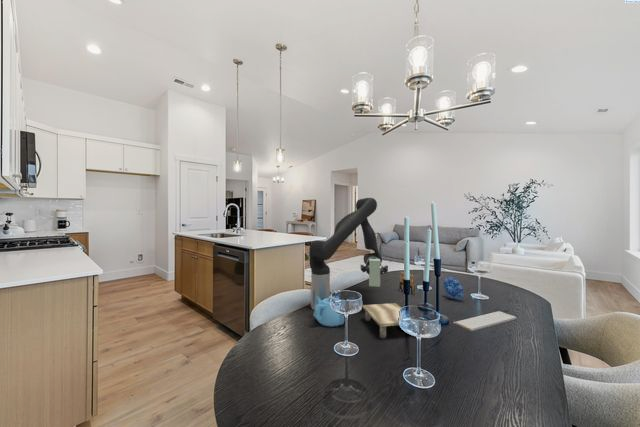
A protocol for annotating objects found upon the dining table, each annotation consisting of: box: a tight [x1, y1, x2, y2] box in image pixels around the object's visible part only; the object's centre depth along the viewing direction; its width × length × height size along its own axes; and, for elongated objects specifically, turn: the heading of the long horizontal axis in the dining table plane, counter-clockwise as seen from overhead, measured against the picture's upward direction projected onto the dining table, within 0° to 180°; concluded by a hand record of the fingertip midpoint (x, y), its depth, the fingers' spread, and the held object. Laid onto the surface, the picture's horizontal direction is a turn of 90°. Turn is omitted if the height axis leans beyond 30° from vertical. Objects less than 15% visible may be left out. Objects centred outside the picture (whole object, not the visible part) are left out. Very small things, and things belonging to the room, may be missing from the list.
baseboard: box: [453, 309, 517, 332], centre depth 120 cm, size 30×3×10 cm
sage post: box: [368, 259, 381, 288], centre depth 128 cm, size 5×5×12 cm
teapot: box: [312, 295, 345, 328], centre depth 118 cm, size 15×15×11 cm
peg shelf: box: [361, 302, 402, 339], centre depth 113 cm, size 16×20×6 cm
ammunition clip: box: [398, 270, 416, 295], centre depth 159 cm, size 11×2×12 cm, turn 26°
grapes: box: [442, 276, 465, 301], centre depth 147 cm, size 12×7×12 cm, turn 34°
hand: (374, 272), depth 125 cm, fingers closed on sage post, 5 cm apart
